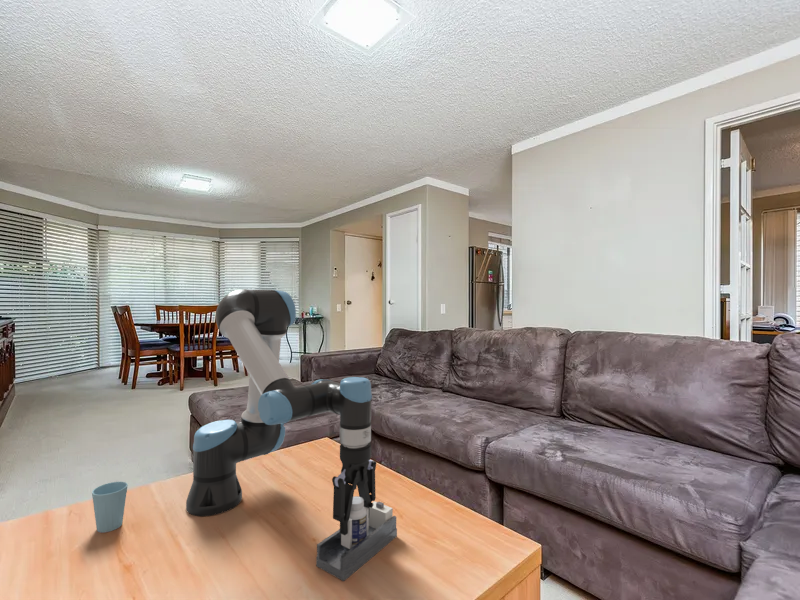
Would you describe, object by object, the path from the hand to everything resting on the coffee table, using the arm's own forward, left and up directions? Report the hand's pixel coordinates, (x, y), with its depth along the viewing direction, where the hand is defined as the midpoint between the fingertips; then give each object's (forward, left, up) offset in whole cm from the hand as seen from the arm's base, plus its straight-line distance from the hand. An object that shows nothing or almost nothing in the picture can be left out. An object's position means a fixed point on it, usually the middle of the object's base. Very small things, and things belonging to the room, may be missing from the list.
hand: (355, 539), depth 94 cm
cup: (-61, -29, -4) cm, 68 cm away
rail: (0, +2, -3) cm, 4 cm away
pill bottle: (0, 0, -1) cm, 1 cm away
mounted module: (0, +10, -1) cm, 10 cm away
